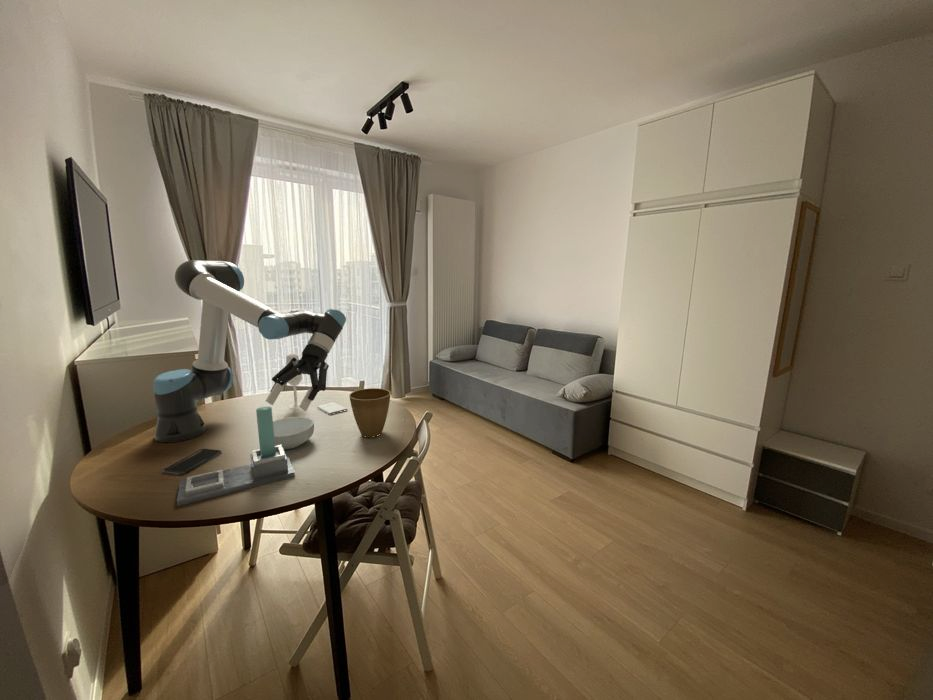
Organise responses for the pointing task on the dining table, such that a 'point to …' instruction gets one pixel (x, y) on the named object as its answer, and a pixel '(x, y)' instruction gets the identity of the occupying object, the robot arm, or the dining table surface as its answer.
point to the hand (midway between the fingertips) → (285, 406)
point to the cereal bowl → (292, 431)
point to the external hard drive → (331, 408)
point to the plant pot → (370, 410)
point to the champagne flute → (294, 380)
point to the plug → (266, 432)
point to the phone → (192, 461)
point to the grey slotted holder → (236, 477)
